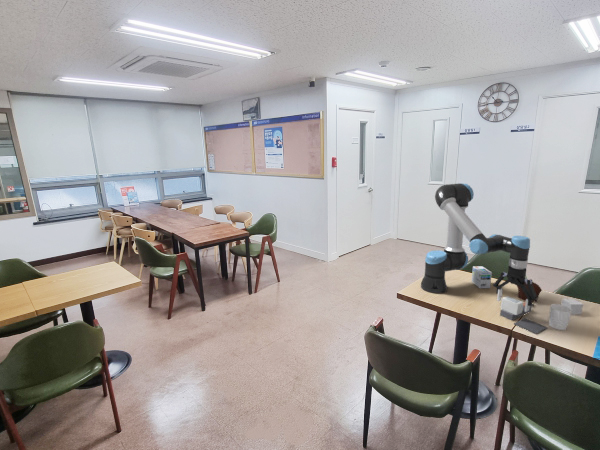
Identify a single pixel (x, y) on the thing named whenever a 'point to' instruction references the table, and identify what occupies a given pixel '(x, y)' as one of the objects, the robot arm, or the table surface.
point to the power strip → (513, 316)
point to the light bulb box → (481, 277)
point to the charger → (512, 305)
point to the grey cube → (573, 305)
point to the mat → (530, 326)
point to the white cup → (559, 316)
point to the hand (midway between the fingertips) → (512, 305)
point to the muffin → (536, 288)
